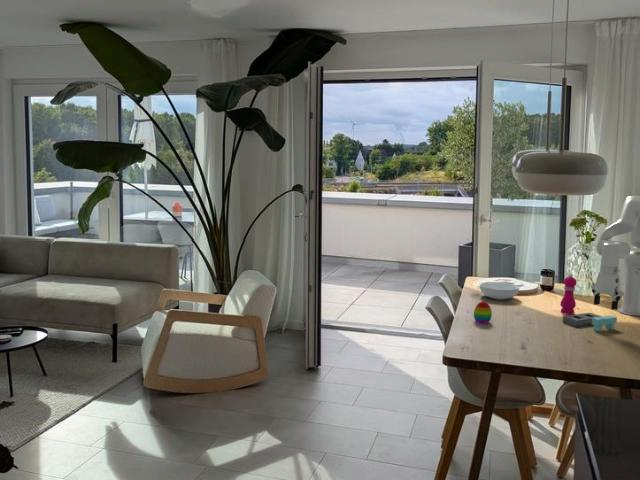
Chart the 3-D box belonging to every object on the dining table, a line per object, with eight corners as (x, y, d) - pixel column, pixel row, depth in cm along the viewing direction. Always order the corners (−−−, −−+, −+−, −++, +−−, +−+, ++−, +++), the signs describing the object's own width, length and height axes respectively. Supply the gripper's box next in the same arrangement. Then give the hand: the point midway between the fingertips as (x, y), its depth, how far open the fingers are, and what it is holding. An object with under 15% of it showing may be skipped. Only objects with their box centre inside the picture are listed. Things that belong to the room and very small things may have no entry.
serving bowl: (525, 298, 360) (526, 286, 359) (506, 304, 345) (507, 291, 344) (491, 291, 374) (491, 279, 373) (471, 297, 359) (472, 285, 358)
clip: (609, 327, 307) (610, 315, 306) (615, 329, 304) (617, 317, 303) (591, 329, 302) (592, 317, 301) (597, 331, 299) (598, 319, 298)
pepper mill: (576, 315, 326) (579, 275, 323) (560, 314, 328) (564, 274, 325) (573, 311, 333) (577, 273, 330) (558, 310, 335) (561, 272, 332)
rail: (589, 318, 321) (589, 312, 320) (602, 322, 314) (603, 316, 313) (562, 322, 313) (563, 316, 312) (575, 326, 306) (576, 320, 305)
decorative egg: (491, 320, 313) (492, 300, 311) (491, 325, 305) (492, 304, 304) (473, 319, 315) (474, 298, 314) (473, 323, 307) (474, 302, 306)
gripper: (631, 273, 292) (627, 310, 295) (599, 266, 308) (595, 302, 310) (619, 274, 289) (615, 311, 291) (587, 267, 304) (584, 303, 307)
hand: (605, 306), depth 301 cm, fingers open, 9 cm apart
